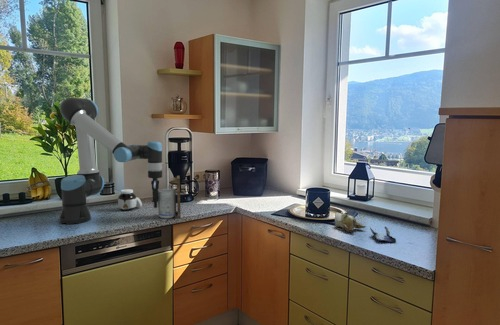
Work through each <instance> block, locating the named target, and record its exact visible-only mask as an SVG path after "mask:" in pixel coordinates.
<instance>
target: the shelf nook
mask: <svg viewBox="0 0 500 325" xmlns="http://www.w3.org/2000/svg"><path fill="white" fill-rule="evenodd" d="M180 176H181V175H176V176H175V177H170V178H169V179H170V181H169V182H170V184H176V194H177V195H176V207H177V210H176V215H175V217H174V219H175V220H177V219H181V218H182V217H181V215H182V214H181V178H180Z"/></svg>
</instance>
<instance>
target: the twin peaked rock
mask: <svg viewBox="0 0 500 325" xmlns="http://www.w3.org/2000/svg"><path fill="white" fill-rule="evenodd" d="M369 228H370V231H371V233H372V234H373V236H374V238H375V239H376V241H377V242H380V241H381V242H382V241H383V242H385V243H387V244H388V243H389V244H392V243H397V240H396V238H395V237H393V236H392V235H391V233H390V231H389V228H388V227H387V226H384V230H385V235H382V234H380V233H378V232H376V231H374V230H373V229H372V228H371V227H369ZM380 237H381V238H380Z"/></svg>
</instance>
